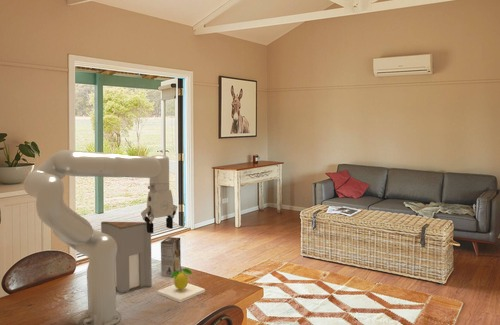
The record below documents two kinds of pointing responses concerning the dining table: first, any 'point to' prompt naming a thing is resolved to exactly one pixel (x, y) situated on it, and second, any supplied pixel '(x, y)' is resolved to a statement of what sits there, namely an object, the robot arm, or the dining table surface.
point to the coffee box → (170, 256)
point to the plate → (180, 292)
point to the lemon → (181, 278)
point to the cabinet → (131, 254)
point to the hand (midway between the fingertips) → (160, 230)
